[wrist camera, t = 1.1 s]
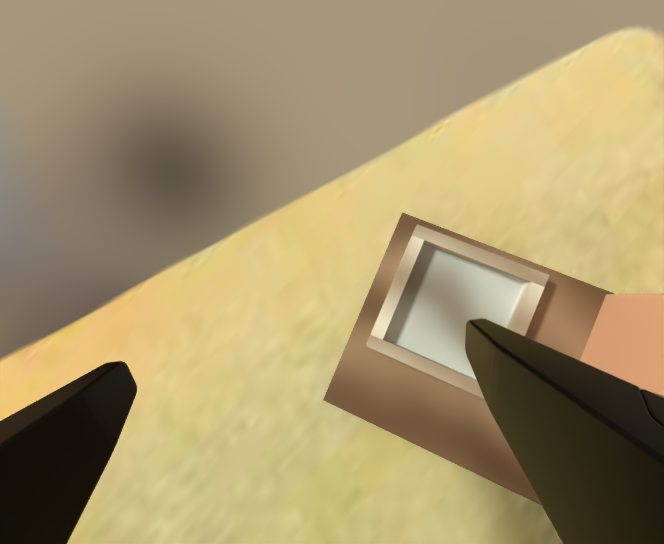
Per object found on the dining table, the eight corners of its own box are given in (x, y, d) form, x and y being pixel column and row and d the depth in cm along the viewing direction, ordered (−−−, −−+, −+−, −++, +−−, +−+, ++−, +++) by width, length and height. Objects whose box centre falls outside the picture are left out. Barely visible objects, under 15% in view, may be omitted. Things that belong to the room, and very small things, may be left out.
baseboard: (630, 541, 20) (661, 570, 18) (325, 395, 23) (320, 405, 21) (710, 335, 21) (750, 339, 19) (401, 216, 24) (404, 207, 21)
